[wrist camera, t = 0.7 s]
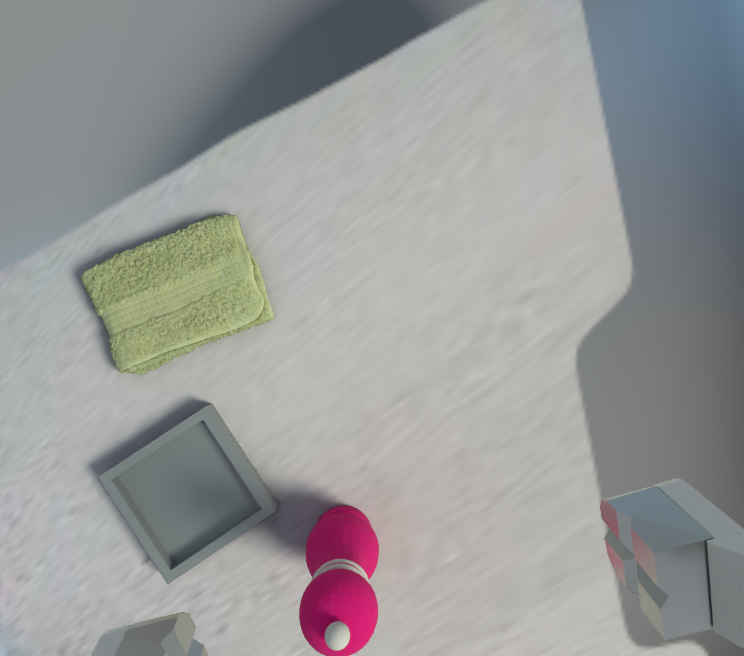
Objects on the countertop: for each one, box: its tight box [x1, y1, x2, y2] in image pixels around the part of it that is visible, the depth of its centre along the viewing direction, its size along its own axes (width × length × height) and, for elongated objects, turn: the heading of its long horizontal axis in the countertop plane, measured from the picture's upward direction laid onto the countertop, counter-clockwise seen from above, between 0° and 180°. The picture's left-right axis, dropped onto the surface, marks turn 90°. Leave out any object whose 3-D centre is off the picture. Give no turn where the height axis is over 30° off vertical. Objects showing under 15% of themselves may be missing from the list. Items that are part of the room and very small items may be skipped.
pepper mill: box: [299, 506, 379, 656], centre depth 45 cm, size 7×7×20 cm
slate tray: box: [98, 404, 278, 584], centre depth 53 cm, size 13×13×2 cm
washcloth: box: [81, 214, 274, 375], centre depth 54 cm, size 13×18×3 cm
